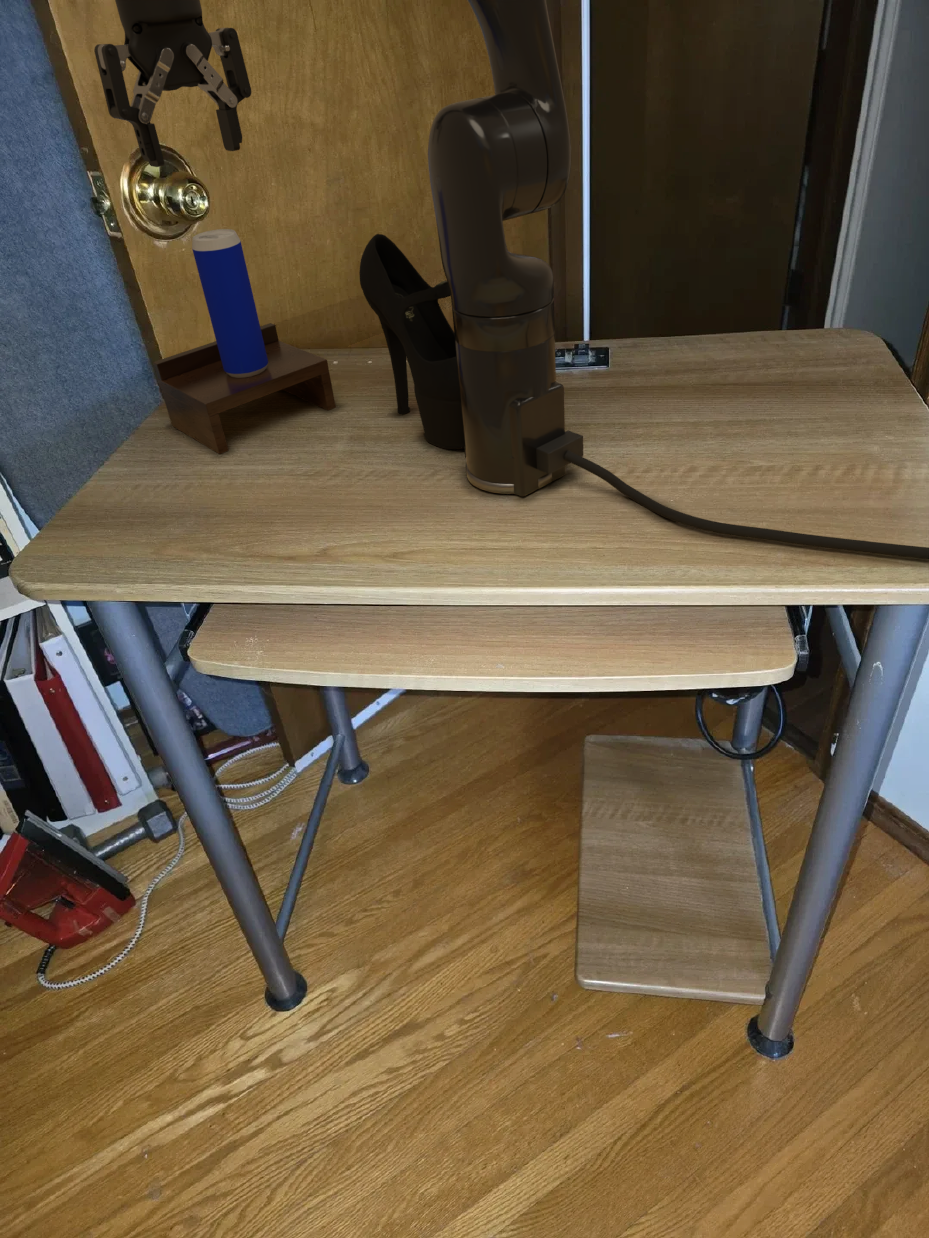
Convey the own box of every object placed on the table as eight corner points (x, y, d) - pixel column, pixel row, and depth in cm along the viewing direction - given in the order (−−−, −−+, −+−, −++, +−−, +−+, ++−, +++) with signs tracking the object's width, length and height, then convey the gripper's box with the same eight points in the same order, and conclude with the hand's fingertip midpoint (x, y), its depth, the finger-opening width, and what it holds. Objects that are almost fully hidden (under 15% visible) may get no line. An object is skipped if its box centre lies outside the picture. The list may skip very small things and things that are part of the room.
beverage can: (275, 362, 104) (245, 227, 95) (259, 379, 100) (226, 240, 91) (235, 362, 105) (201, 229, 96) (217, 379, 101) (181, 242, 92)
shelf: (336, 407, 107) (324, 342, 102) (219, 454, 99) (200, 386, 94) (284, 384, 115) (270, 322, 110) (172, 426, 107) (152, 362, 102)
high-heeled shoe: (466, 466, 91) (446, 266, 80) (364, 417, 104) (334, 238, 92) (523, 440, 95) (512, 246, 83) (418, 396, 108) (395, 222, 96)
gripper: (88, -37, 74) (147, 175, 84) (237, -50, 81) (275, 147, 91) (56, -31, 79) (115, 169, 88) (198, -44, 86) (239, 143, 95)
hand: (196, 158), depth 89 cm, fingers open, 8 cm apart
